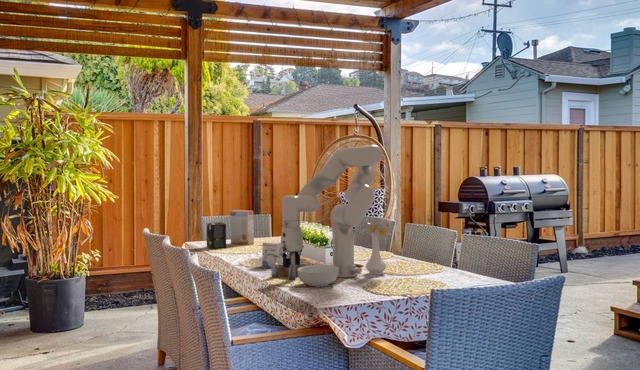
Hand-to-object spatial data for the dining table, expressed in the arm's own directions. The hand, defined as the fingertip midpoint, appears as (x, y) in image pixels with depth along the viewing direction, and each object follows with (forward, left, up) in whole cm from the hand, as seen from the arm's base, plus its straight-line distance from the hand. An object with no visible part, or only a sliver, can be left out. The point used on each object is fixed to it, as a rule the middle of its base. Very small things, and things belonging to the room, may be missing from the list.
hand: (291, 265), depth 255 cm
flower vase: (-24, -32, -6) cm, 40 cm away
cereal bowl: (-16, +2, -6) cm, 17 cm away
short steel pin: (+10, -1, -6) cm, 12 cm away
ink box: (+29, -21, -6) cm, 37 cm away
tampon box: (+97, -49, -6) cm, 109 cm away
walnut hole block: (+7, -8, -6) cm, 13 cm away
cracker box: (+95, -69, -6) cm, 118 cm away
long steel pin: (0, 0, -6) cm, 6 cm away
